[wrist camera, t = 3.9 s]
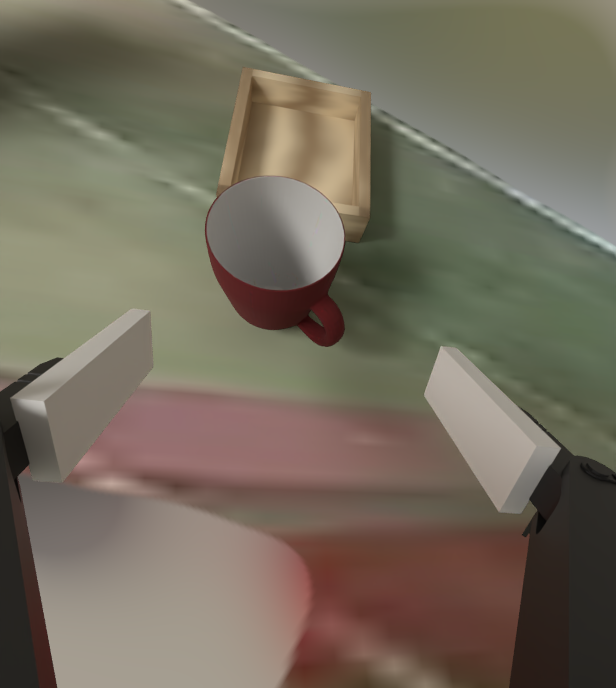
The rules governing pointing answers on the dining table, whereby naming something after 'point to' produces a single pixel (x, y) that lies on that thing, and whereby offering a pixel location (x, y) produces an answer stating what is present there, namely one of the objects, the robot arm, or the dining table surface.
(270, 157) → the wooden tray
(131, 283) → the dining table surface
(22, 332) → the dining table surface
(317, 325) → the mug
